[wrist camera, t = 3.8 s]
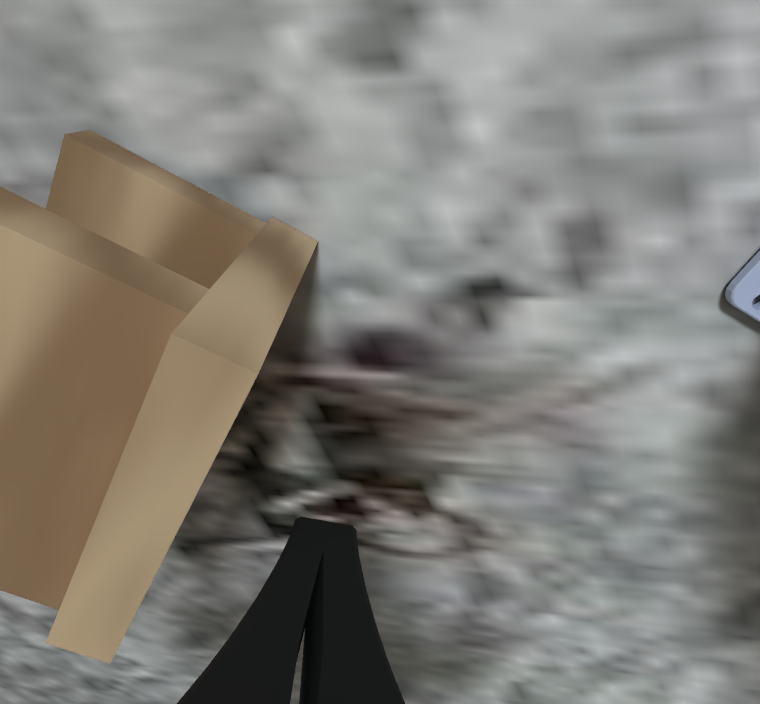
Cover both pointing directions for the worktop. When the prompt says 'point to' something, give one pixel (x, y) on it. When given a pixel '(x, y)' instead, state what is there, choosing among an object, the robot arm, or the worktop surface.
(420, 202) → the worktop surface
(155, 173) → the tan notched block
